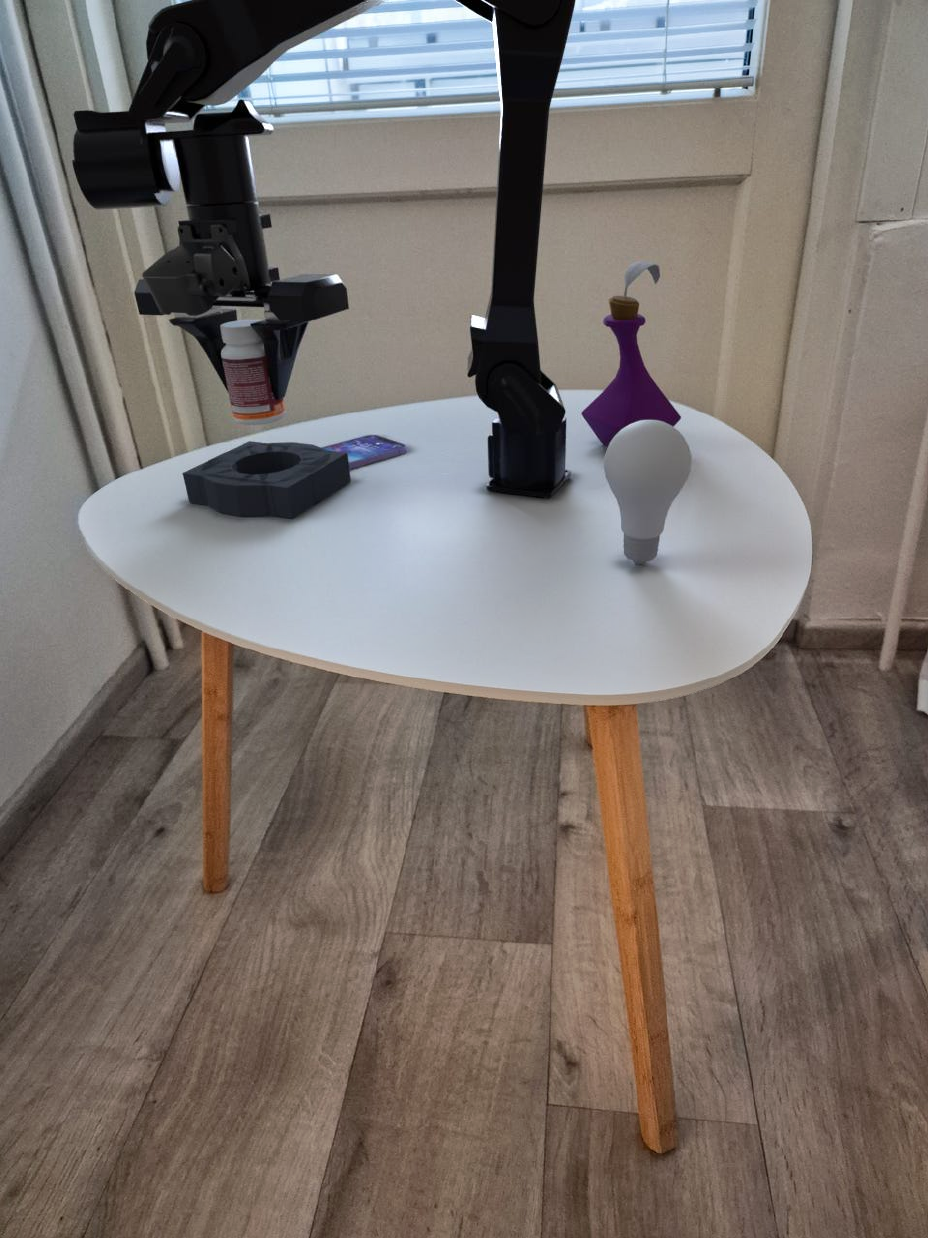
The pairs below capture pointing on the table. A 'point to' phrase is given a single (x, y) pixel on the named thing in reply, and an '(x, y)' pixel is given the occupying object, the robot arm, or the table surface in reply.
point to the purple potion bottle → (628, 372)
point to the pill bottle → (248, 375)
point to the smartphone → (368, 449)
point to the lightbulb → (646, 481)
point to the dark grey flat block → (267, 479)
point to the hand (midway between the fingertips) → (256, 396)
